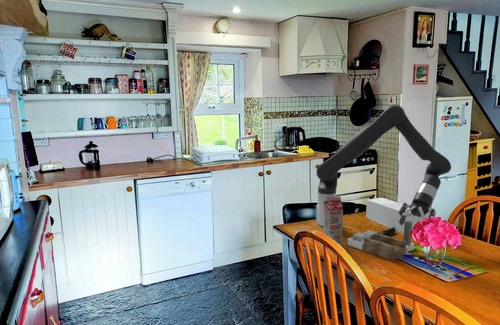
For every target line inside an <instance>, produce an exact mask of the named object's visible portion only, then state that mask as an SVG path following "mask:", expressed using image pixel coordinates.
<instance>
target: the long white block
mask: <svg viewBox="0 0 500 325" xmlns="http://www.w3.org/2000/svg"><path fill="white" fill-rule="evenodd" d="M403 204H404V203H400V202H397V201H395V200H391V199H388V198H385V197H377V198H370V199H366V206H365V207H366V210H365V212H366V215H365V218H366V219H367V218H368V219H367V220H369V219H370V220H369V221H372V222H374V221H375V223H377V224H379V225H381V224H382V226H383V227H387V228H388V227H389V228H388V229H391V228H395V230H396V232H399V233H401V234H403V235H404V224H403V225H400V222H399V220H400V218H401V216H400V214H399V210H400V209H401V207H402V205H403ZM408 209H409V208H408ZM408 209H406V210H408ZM405 212H406V211H405ZM409 213H411V211H410V212H409ZM429 214H430V213H429V212H428V213H427V214H425V216H426V218H428V217H429ZM420 220H422V216H421V217H418V216H413V215H412V216H409V217H407V218H406V220H405V221H410V222H412V228H413V227H414V225H415V224H416V223H417V222H418V221H420ZM404 223H405V222H404Z"/></svg>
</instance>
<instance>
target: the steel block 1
mask: <svg viewBox="0 0 500 325" xmlns="http://www.w3.org/2000/svg"><path fill="white" fill-rule="evenodd" d="M352 237H353V240H354V241H357V242H360V243H364V233H363V232H362V233H361V232H356V233H354V234H352Z"/></svg>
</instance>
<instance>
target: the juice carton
mask: <svg viewBox="0 0 500 325" xmlns="http://www.w3.org/2000/svg"><path fill="white" fill-rule="evenodd" d="M341 199H342V198H341V196H336V197H326V201H325V202H324V218H323V226H322V230H323V231H322V232H323V233H324V234H326V235H327V236H329V237H330V238H332V239H333V240H335V241H336V242H337V243H339V244H340V245H341V246H342V247H343V226H344V218H343V217H344V205H343V203H342V201H341ZM323 233H322V234H323Z"/></svg>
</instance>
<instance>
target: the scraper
mask: <svg viewBox="0 0 500 325" xmlns="http://www.w3.org/2000/svg"><path fill="white" fill-rule="evenodd" d="M411 230H412V222H410V221H405V223H404V234H403V241H406V252H407V253H409V252H411V251H413V250H415V243H413V242H412V237H411V235H410V233H411ZM410 250H411V251H410ZM408 251H409V252H408Z"/></svg>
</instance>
